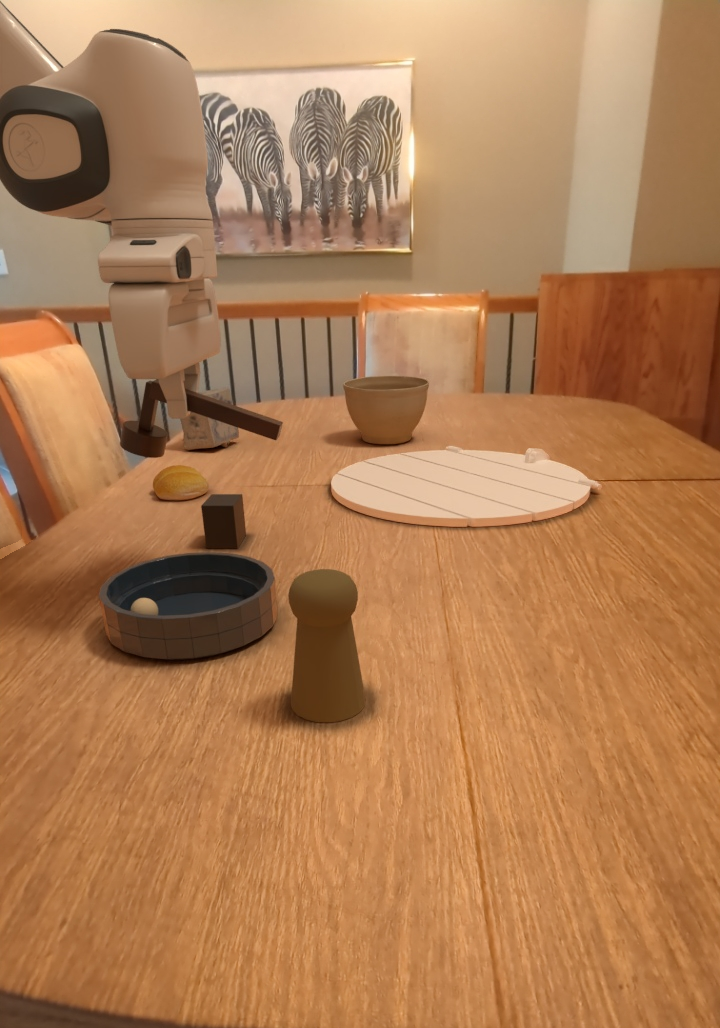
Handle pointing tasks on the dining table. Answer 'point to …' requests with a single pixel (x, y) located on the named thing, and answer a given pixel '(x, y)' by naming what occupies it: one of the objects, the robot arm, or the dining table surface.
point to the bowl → (190, 605)
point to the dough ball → (144, 606)
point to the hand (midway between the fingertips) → (184, 414)
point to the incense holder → (208, 426)
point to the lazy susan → (462, 487)
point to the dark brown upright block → (224, 521)
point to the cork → (325, 647)
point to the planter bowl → (386, 406)
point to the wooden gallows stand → (153, 439)
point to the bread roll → (179, 483)
